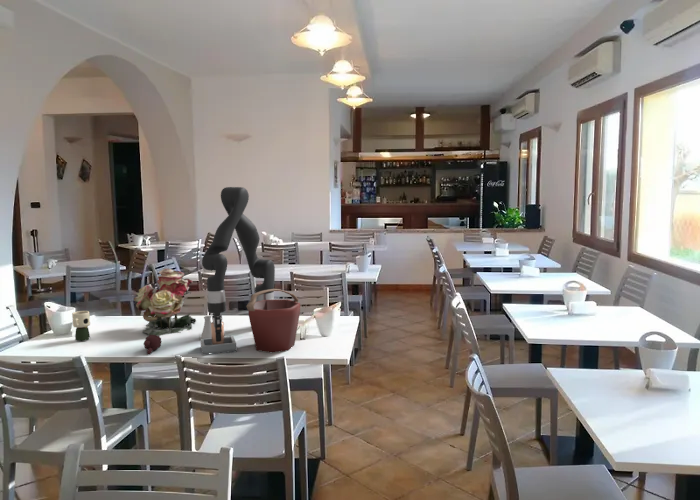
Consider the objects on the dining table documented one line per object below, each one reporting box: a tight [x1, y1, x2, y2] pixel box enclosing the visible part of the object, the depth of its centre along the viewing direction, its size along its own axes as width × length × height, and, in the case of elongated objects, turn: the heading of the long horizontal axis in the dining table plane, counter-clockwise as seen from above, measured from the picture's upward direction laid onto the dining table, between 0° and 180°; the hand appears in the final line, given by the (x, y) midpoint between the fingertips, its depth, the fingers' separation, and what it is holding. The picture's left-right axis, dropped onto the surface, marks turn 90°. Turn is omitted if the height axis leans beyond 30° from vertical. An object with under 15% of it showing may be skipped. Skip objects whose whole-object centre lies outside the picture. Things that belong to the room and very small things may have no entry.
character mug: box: [71, 310, 91, 342], centre depth 261 cm, size 11×7×13 cm, turn 0°
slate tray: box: [200, 335, 237, 355], centre depth 245 cm, size 14×12×4 cm
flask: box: [200, 315, 212, 340], centre depth 262 cm, size 7×7×10 cm
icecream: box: [143, 335, 163, 355], centre depth 245 cm, size 7×7×15 cm
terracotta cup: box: [211, 321, 225, 345], centre depth 244 cm, size 5×5×9 cm
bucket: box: [245, 288, 301, 353], centre depth 246 cm, size 24×22×25 cm
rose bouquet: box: [133, 267, 197, 336], centre depth 278 cm, size 26×29×30 cm
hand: (218, 339), depth 244 cm, fingers closed on terracotta cup, 5 cm apart
